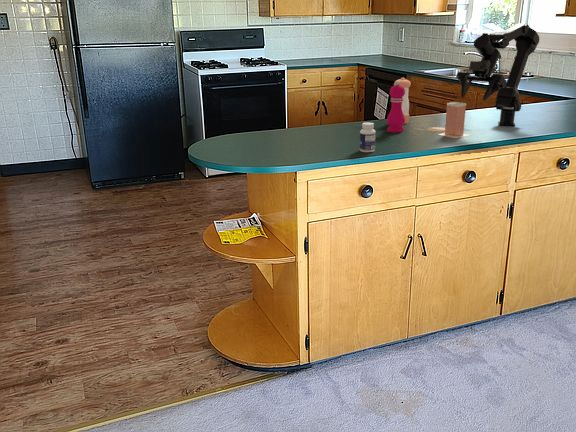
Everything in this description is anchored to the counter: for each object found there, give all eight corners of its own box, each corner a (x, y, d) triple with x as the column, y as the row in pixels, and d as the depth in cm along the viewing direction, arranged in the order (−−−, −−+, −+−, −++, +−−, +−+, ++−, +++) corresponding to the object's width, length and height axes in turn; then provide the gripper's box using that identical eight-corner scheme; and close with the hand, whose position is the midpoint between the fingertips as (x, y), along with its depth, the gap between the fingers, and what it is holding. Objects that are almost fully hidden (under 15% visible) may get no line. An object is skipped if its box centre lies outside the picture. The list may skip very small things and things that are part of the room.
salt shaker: (410, 121, 259) (413, 77, 252) (406, 124, 252) (409, 78, 246) (394, 120, 262) (396, 76, 255) (390, 123, 255) (392, 78, 249)
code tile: (452, 132, 236) (452, 131, 236) (470, 135, 229) (470, 134, 229) (437, 135, 231) (437, 134, 231) (455, 138, 224) (455, 137, 224)
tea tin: (452, 132, 233) (455, 101, 229) (463, 134, 230) (466, 103, 225) (444, 134, 231) (446, 103, 227) (454, 136, 227) (457, 104, 223)
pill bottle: (358, 149, 210) (358, 122, 207) (372, 148, 211) (373, 121, 207) (361, 152, 205) (361, 125, 202) (376, 152, 206) (377, 124, 202)
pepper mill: (404, 133, 235) (407, 82, 228) (386, 132, 236) (388, 82, 230) (404, 129, 242) (407, 80, 235) (386, 129, 243) (388, 80, 236)
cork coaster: (427, 127, 245) (427, 126, 245) (451, 128, 242) (452, 127, 242) (425, 132, 236) (425, 131, 236) (451, 133, 233) (451, 132, 233)
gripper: (458, 50, 228) (442, 86, 226) (503, 52, 215) (487, 90, 213) (469, 65, 236) (454, 100, 234) (513, 68, 223) (498, 105, 221)
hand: (472, 99), depth 225 cm, fingers open, 9 cm apart
